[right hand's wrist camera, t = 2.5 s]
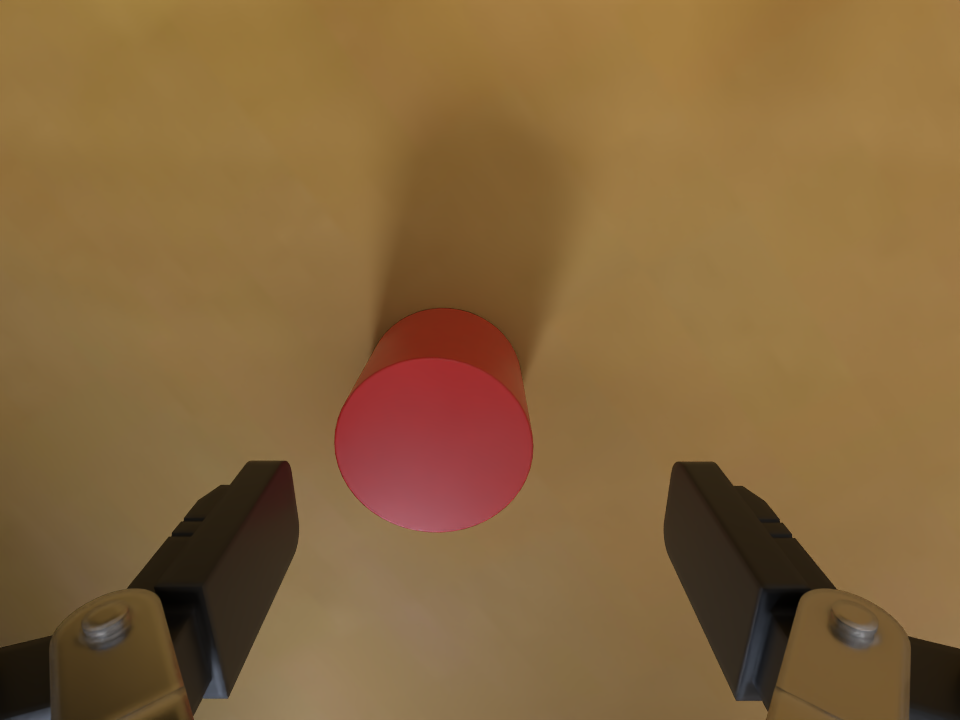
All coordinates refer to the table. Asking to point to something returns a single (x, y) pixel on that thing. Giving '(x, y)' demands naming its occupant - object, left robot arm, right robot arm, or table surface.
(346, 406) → the red solid cylinder
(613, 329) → the table surface
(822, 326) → the table surface
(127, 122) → the table surface
